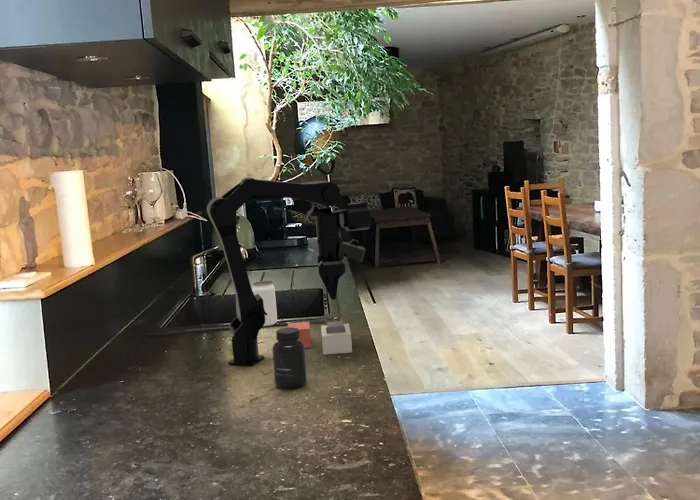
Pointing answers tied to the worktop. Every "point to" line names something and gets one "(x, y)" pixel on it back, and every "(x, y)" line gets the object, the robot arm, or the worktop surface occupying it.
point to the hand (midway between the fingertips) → (333, 296)
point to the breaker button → (335, 327)
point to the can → (267, 300)
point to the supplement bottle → (289, 359)
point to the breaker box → (336, 341)
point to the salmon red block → (303, 332)
